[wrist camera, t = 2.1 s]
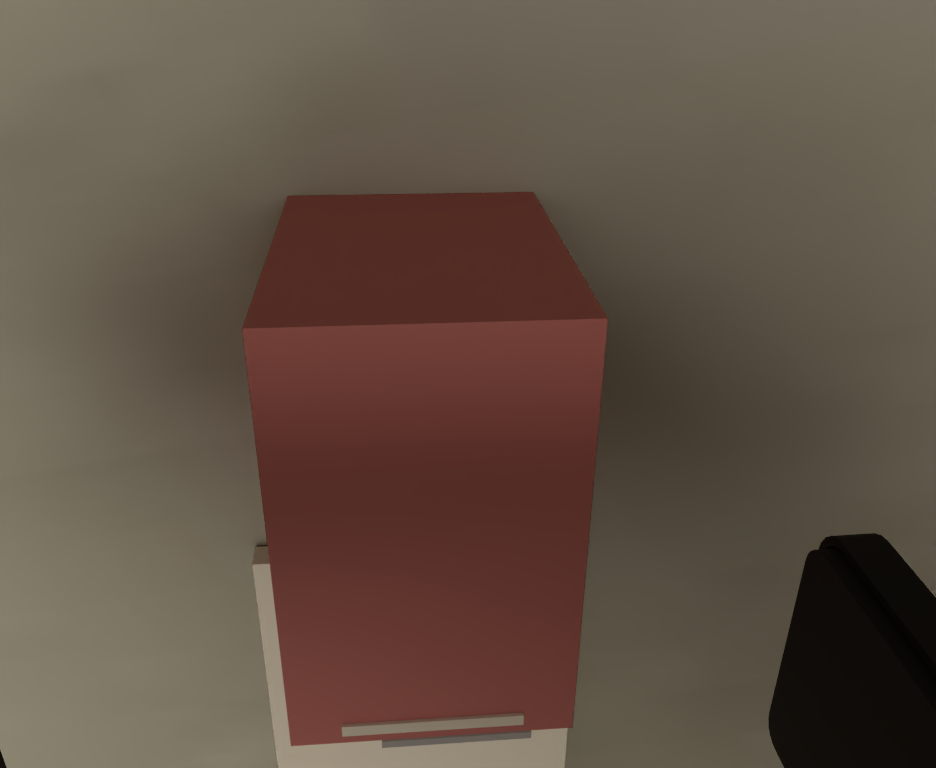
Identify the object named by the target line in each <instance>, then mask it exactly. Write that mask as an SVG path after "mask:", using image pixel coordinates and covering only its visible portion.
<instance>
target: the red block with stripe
mask: <svg viewBox="0 0 936 768" xmlns="http://www.w3.org/2000/svg"><path fill="white" fill-rule="evenodd" d="M607 324H608V318H607V316H606V314H605V313H604V311H603V309H602V308H601V306H600V304H599V303H598V301H597V299H596V297H595V296H594V294H593V292H592V291H591V289H590V287H589V286H588V284H587V282H586V281H585V279H584V277H583V276H582V274H581V272H580V270H579V269H578V267H577V265H576V264H575V262H574V260H573V259H572V257H571V255H570V254H569V252H568V250H567V249H566V247H565V245H564V243H563V242H562V240H561V238H560V237H559V235H558V233H557V232H556V230H555V228H554V227H553V225H552V223H551V221H550V220H549V218H548V216H547V215H546V213H545V211H544V210H543V208H542V206H541V205H540V203H539V201H538V200H537V198H536V196H535V194H534V193H533V192H505V193H440V194H374V195H309V196H288V197H287V200H286V203H285V205H284V208H283V211H282V214H281V217H280V220H279V223H278V226H277V229H276V232H275V235H274V238H273V240H272V243H271V246H270V249H269V252H268V255H267V258H266V261H265V264H264V267H263V270H262V272H261V275H260V278H259V281H258V284H257V287H256V290H255V293H254V296H253V299H252V302H251V304H250V307H249V310H248V313H247V316H246V319H245V322H244V325H243V328H242V331H243V339H244V348H245V357H246V365H247V374H248V382H249V391H250V400H251V408H252V417H253V425H254V434H255V442H256V451H257V460H258V468H259V477H260V485H261V494H262V503H263V511H264V520H265V528H266V537H267V545H268V554H269V563H270V571H271V580H272V588H273V597H274V606H275V614H276V623H277V631H278V640H279V648H280V657H281V666H282V674H283V683H284V691H285V700H286V709H287V717H288V726H289V734H290V743H291V746H302V745H317V744H332V743H347V742H362V741H378V740H393V739H408V738H423V737H438V736H453V735H468V734H483V733H498V732H513V731H528V730H543V729H559V728H573V716H574V705H575V693H576V682H577V670H578V659H579V647H580V635H581V624H582V612H583V601H584V589H585V578H586V566H587V555H588V543H589V532H590V520H591V509H592V497H593V486H594V474H595V463H596V451H597V439H598V428H599V416H600V405H601V393H602V382H603V370H604V359H605V347H606V336H607Z"/></svg>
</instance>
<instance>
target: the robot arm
mask: <svg viewBox="0 0 936 768" xmlns="http://www.w3.org/2000/svg"><path fill="white" fill-rule="evenodd" d="M769 730H770V736H771V739H772V743H773V745H774V748H775V750H776V752H777V754H778V756H779V758H780V760H781V762H782V764H783V766H784V768H936V598H935V596H934V595H933V594H932V593H931V592H930V590H929V589H928V588H927V587H926V586H925V585H924V583H923V582H922V581H921V580H920V579H919V577H918V576H917V575H916V574H915V573H914V571H913V570H912V569H911V568H910V567H909V566H908V564H907V563H906V562H905V561H904V560H903V558H902V557H901V556H900V555H899V554H898V552H897V551H896V550H895V549H894V548H893V547H892V545H891V544H890V543H889V542H888V541H887V540H886V539H885V538H884V537H883V536H881V535H878V534H875V533H873V534H857V535H841V536H830V537H826V538H825V539H824V540H823V541H822V542H821V545H820V547H819V550H813V551H811V552H810V553H809V554H808V555H807V558H806V561H805V565H804V569H803V574H802V578H801V582H800V586H799V590H798V595H797V599H796V603H795V607H794V611H793V616H792V620H791V624H790V628H789V632H788V637H787V641H786V645H785V649H784V653H783V657H782V662H781V666H780V670H779V674H778V678H777V683H776V687H775V691H774V695H773V699H772V704H771V708H770V712H769ZM0 768H6V765H5V762H4V759H3V757H2V754H1V751H0Z"/></svg>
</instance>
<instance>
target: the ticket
mask: <svg viewBox="0 0 936 768" xmlns="http://www.w3.org/2000/svg"><path fill="white" fill-rule="evenodd" d="M252 566H253V574H254V582H255V589H256V597H257V605H258V613H259V621H260V629H261V637H262V644H263V652H264V660H265V668H266V676H267V684H268V692H269V699H270V707H271V715H272V723H273V731H274V739H275V747H276V755H277V762H278V768H564V767H565V755H566V743H567V731H568V728H559V729H543V730H528V731H513V732H498V733H483V734H468V735H453V736H438V737H423V738H408V739H393V740H378V741H362V742H347V743H332V744H317V745H302V746H291V743H290V734H289V726H288V717H287V709H286V700H285V691H284V683H283V674H282V666H281V657H280V648H279V640H278V631H277V623H276V614H275V606H274V597H273V588H272V580H271V571H270V563H269V554H268V546H264V547H256V549H255V554H254V559H253V564H252Z"/></svg>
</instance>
